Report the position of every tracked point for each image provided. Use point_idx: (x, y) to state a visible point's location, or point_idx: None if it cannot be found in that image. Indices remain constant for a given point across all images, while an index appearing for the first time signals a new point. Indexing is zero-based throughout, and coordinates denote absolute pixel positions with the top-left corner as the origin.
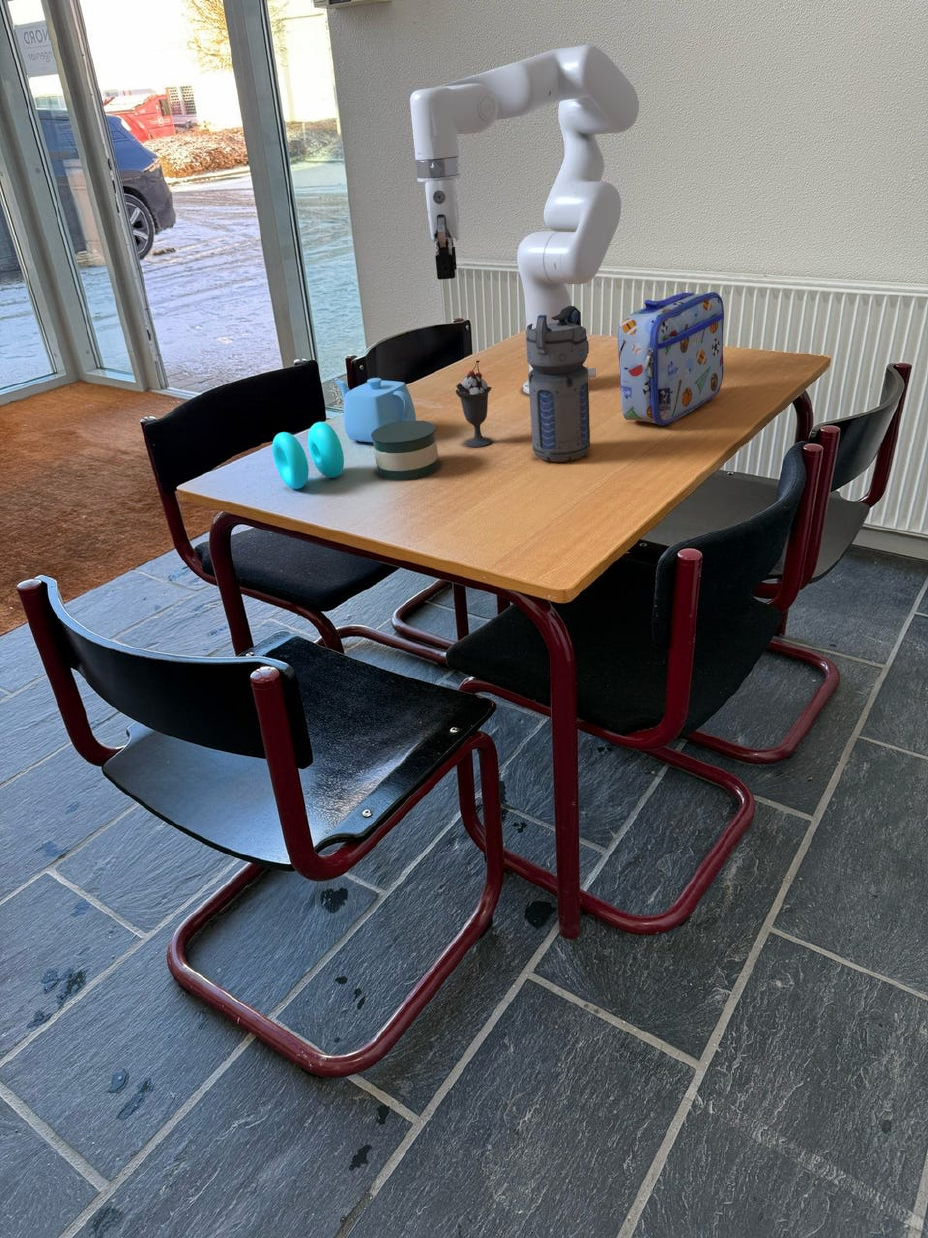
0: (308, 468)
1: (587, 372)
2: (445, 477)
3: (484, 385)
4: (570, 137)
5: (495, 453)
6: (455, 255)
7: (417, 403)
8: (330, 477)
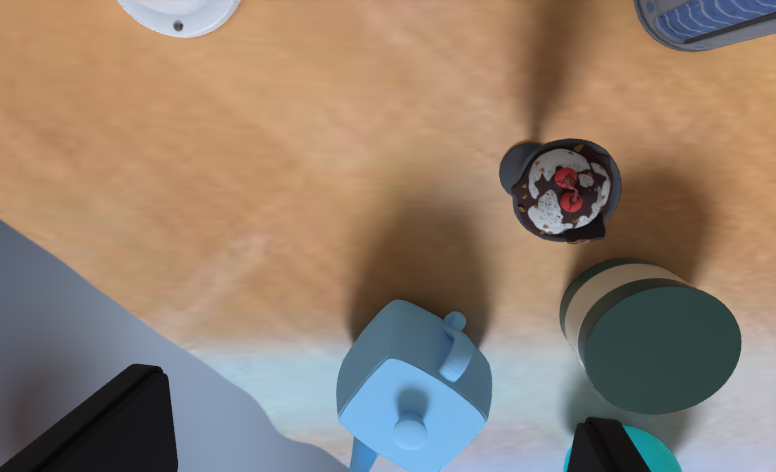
0: None
1: None
2: (705, 247)
3: (584, 160)
4: None
5: (612, 139)
6: (66, 444)
7: (221, 284)
8: None
